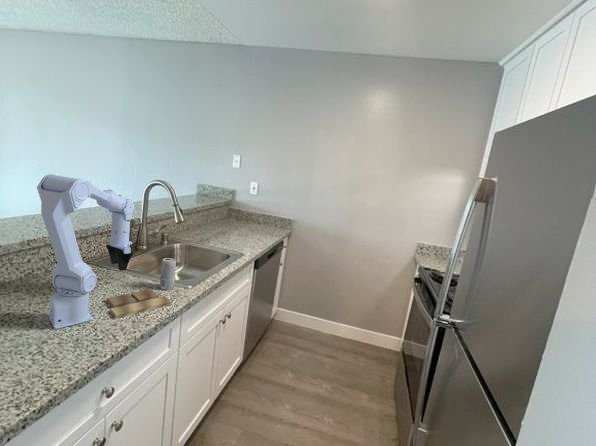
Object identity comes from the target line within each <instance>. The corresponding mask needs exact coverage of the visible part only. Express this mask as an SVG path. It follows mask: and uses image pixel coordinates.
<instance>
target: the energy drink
mask: <svg viewBox="0 0 596 446" xmlns="http://www.w3.org/2000/svg"><path fill="white" fill-rule="evenodd" d="M160 267H161V269H160V280H159V281H160V282H159V288H160V289H161V290H163V291H171V290H173V289H174V288H175V281H176V280H175V279H176V270H177V269H176V268H177V260H176V259H175V257H174V258H173V257H165V258H162V260H161V265H160Z"/></svg>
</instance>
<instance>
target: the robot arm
mask: <svg viewBox="0 0 596 446" xmlns="http://www.w3.org/2000/svg"><path fill="white" fill-rule="evenodd" d="M91 182H92V181H90V180H89V181H88V180H86V179H84V178H75V177H68V176H64V175H63V176H62V175H56V174H53V173H49V174H46V175H44V176H43V177H42V178H41V179H40V181H39V183H38V185H36V189H37V193H38V195H39V198H40V201H41V209H40V210H41V216H42V220H43V223H44V225H45V229H46V231H47V235H48V238H49V240H50V244H51V246H52V249H53V253H54V255H55V259H56V262H57V265H56V266H55V267H54V268H53V269H52V271H51V274H52V285H53V288H55V289H57V293H55V294H53V295H50V296H49V316H48V318H49V319H48V320H49V321H50V323H51V325H52V326H53V328H54V329H55V330H57V329H62V328H67V327H70V326H73V325H74V326H75V325H80V324H82V323H86V322H90V321H94V317H93V315H92V314H90V292H92V291H93V290H94V289H95V288H96V286H97V281H98V277H97V274H96V273H95V272H94V271H93V269H92V267H91V266H90V265H89V264H87V263H85V262H84V261H83V259H82V254H81V252H80V248H79V245H78V242H77V238H76V235H75V231H74V227H73V224H72V220H71V216H70V214H71V213H74V212H77V210H78V209H79V208H80V207H81V206H82V204H83V203H84V202H85V201H86V200H87V198H90V199H93V200H95V201H96V203H97V205H98V206H100V207H102V208H104V209H107V210H108V212H109V213H110V214H111V228H110V230H111V231H110V237H109V244H106V245H105V248H106V249H107V251H108V255H109V258H110V262H111V264H112V265H117V266H118V270H119V271H126V270H127V268H128V266H129V264H130V260H131V258H132V257H133V256H134V251H132V249H131V247H130V246H131V245H133V241H131V240H130V231H131V220H132V218H133V213H134V212H135V203H134V201H132V200H131V198H129V199H128V198H124V197H123V195H121V194H117V193H116V192H115V190H114V189H109V188H108V189H104V190H103V189H100V188H99V187H97V186H96V185H94V184H92V183H91Z"/></svg>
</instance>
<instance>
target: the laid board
mask: <svg viewBox="0 0 596 446" xmlns="http://www.w3.org/2000/svg"><path fill="white" fill-rule="evenodd" d="M171 305H172V301H171V300H169V298H168V297H166V296H160V297H159V298H154V299H150V300H146V301H141V302H137V301H136V303H133V304H128V305H124V306H119V307H115V308H113V307H111V308H110V309H109V312H110V313H111V314H112V315H113V317H114V318H115V319H119V318H124V317H127V316H131V315H136V314H139V313H143V312H147V311H151V310H154V309H159V308H162V307H163V308H164V307H167V306H171Z"/></svg>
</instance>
